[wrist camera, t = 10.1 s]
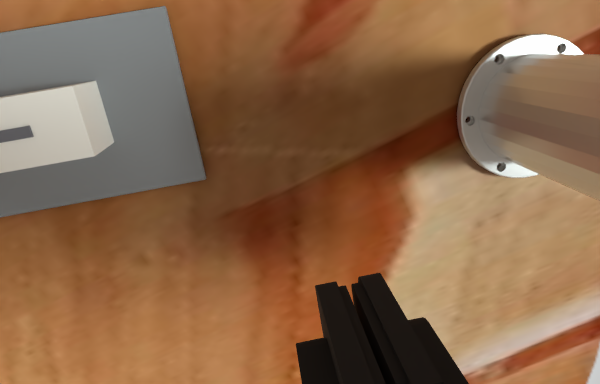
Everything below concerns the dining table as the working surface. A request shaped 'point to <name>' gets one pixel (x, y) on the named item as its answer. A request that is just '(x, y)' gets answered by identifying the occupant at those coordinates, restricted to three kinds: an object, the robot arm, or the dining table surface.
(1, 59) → the mat
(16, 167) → the letter block
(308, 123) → the dining table surface
